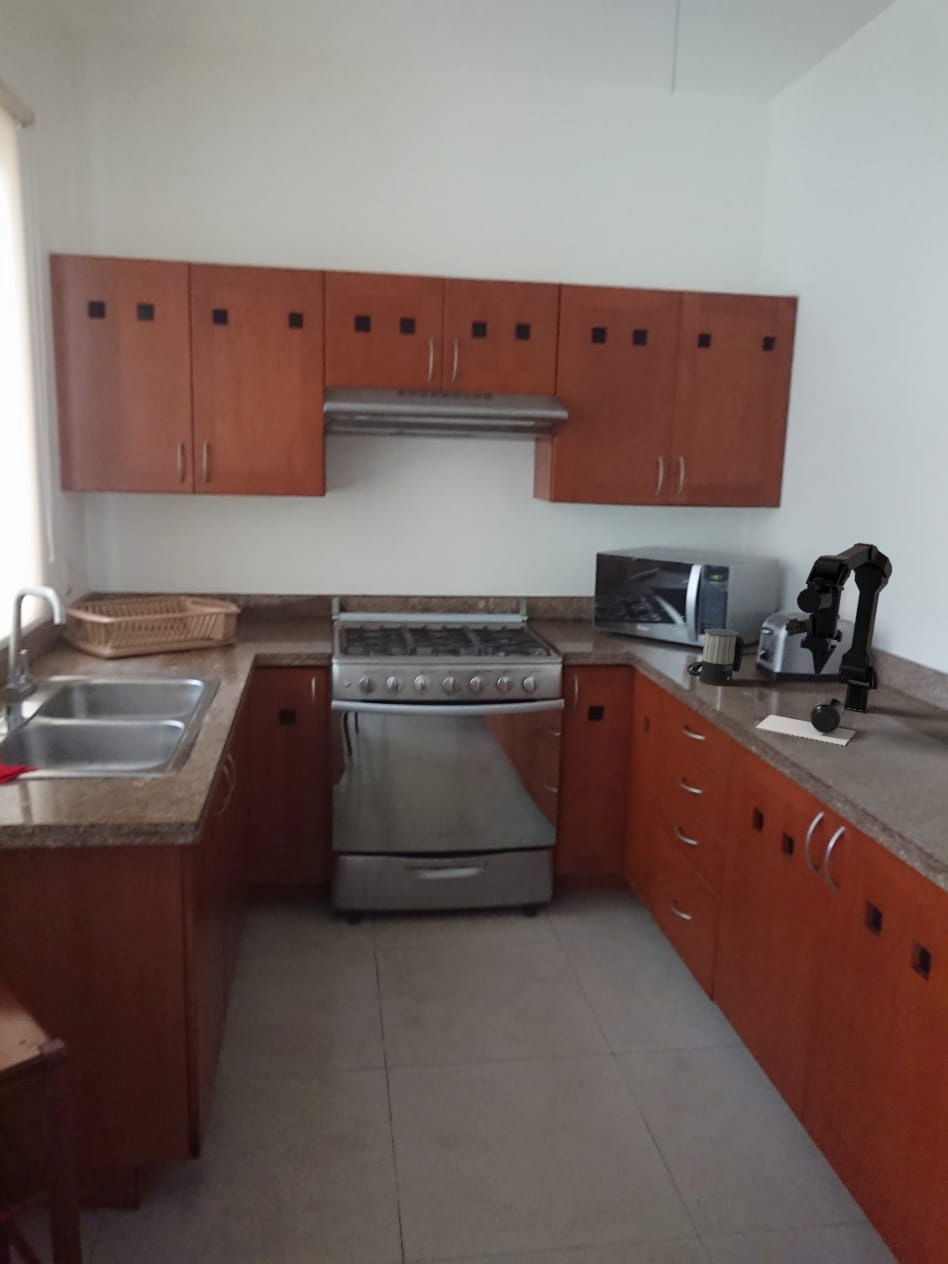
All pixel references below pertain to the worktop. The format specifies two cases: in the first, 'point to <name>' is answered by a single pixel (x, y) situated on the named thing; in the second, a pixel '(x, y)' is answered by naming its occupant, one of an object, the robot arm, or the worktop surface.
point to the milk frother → (719, 657)
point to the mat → (804, 730)
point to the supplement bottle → (827, 715)
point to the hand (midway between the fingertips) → (817, 674)
